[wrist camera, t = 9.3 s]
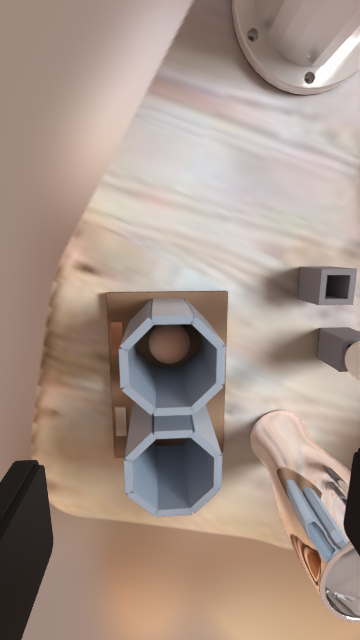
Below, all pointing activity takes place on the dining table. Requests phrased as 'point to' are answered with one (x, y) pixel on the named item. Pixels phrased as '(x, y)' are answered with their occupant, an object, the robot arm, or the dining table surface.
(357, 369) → the ivory ball
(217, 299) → the rack board
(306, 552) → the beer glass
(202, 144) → the dining table surface
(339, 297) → the stand
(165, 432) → the tubes
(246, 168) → the dining table surface
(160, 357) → the terracotta ball
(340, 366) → the stand
